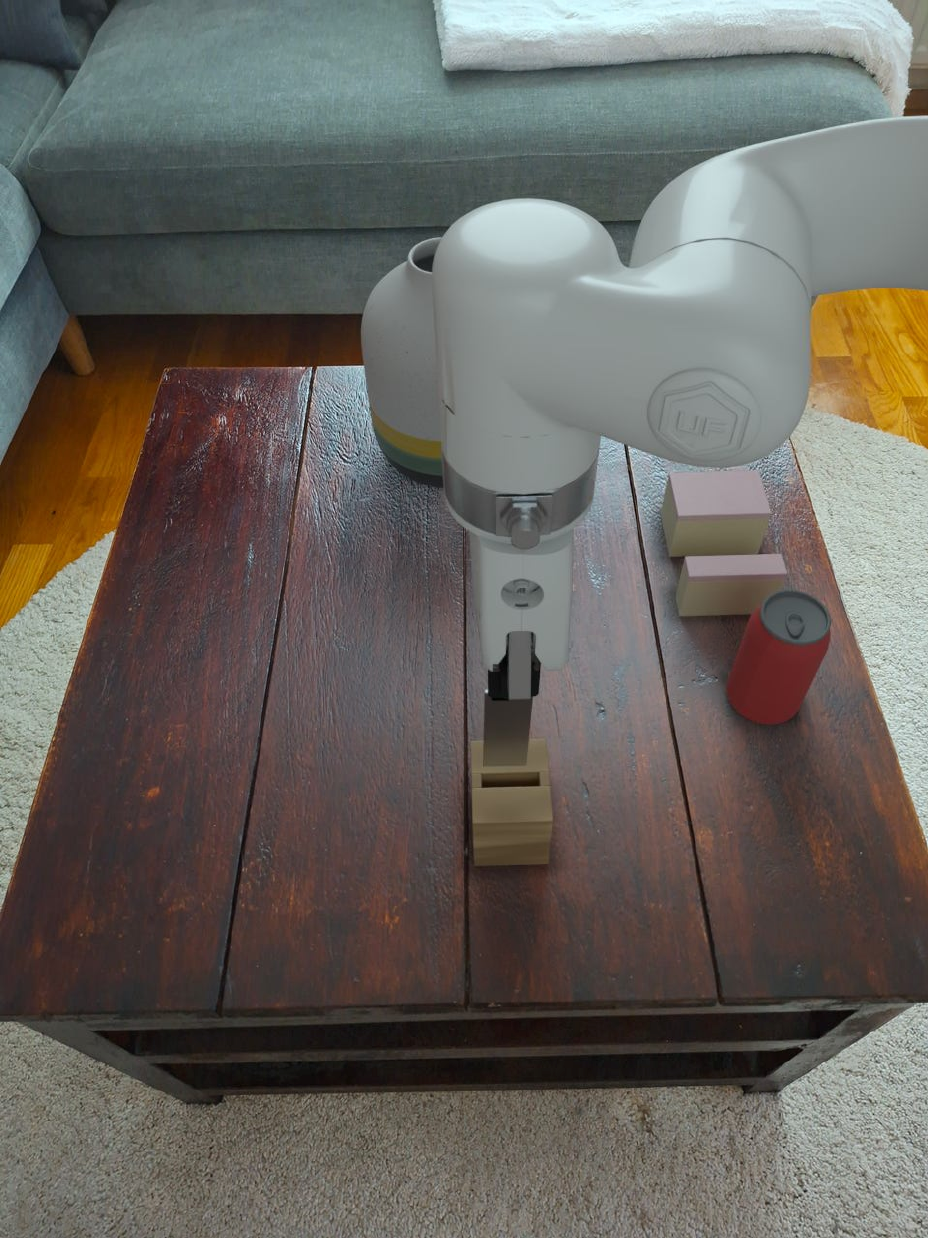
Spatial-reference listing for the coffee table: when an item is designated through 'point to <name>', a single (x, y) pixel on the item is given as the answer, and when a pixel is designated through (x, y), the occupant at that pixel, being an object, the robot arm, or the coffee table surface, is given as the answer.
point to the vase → (405, 367)
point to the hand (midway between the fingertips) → (512, 677)
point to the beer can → (779, 656)
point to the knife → (506, 731)
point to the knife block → (511, 808)
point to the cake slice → (728, 583)
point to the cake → (714, 513)
